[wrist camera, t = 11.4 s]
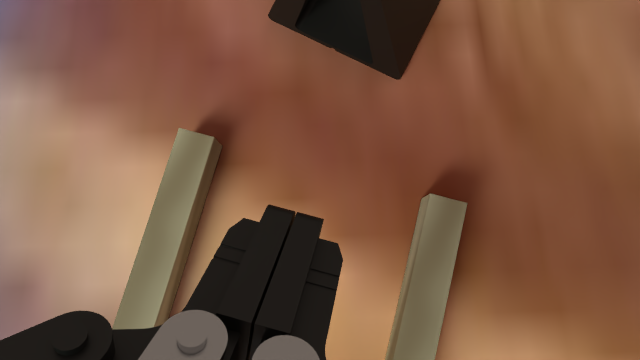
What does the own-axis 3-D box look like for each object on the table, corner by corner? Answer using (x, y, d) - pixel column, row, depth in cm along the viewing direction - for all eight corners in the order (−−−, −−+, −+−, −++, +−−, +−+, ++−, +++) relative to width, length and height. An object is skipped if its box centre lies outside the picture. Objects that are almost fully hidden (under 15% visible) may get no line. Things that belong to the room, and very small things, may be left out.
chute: (518, -89, 28) (542, -129, 25) (400, 466, 23) (412, 498, 20) (282, -144, 29) (277, -189, 26) (109, 382, 23) (79, 400, 20)
